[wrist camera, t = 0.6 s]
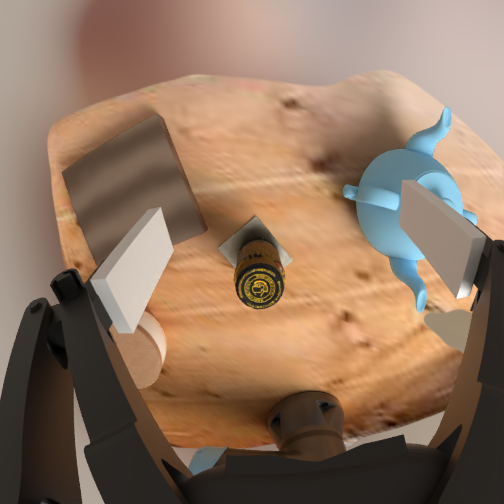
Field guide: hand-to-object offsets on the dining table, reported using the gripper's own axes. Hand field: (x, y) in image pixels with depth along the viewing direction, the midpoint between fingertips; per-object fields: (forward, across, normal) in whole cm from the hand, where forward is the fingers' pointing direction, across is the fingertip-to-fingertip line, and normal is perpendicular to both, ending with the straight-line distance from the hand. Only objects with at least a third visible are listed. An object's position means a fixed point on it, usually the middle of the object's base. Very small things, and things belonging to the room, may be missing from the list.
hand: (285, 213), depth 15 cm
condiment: (+22, +4, +15) cm, 28 cm away
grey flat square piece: (+24, +22, +4) cm, 33 cm away
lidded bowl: (+18, +25, +25) cm, 40 cm away
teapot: (+26, -18, +10) cm, 33 cm away
